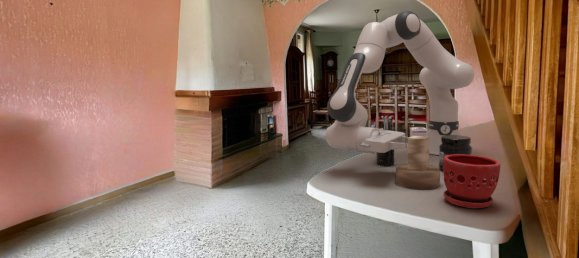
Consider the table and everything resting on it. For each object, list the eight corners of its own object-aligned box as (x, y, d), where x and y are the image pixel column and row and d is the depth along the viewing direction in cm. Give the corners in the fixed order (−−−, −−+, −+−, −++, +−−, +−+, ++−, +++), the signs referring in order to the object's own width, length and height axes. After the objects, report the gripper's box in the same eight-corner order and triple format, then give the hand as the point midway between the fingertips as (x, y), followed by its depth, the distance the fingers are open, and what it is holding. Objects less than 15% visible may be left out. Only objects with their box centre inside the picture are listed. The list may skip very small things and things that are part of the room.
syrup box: (427, 167, 126) (428, 129, 124) (410, 167, 127) (411, 129, 125) (424, 164, 131) (425, 127, 129) (408, 163, 132) (409, 127, 130)
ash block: (407, 169, 107) (408, 137, 105) (412, 165, 111) (413, 135, 109) (423, 171, 104) (424, 139, 102) (428, 167, 108) (429, 136, 106)
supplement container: (476, 170, 121) (478, 136, 119) (462, 175, 114) (464, 140, 113) (447, 164, 129) (448, 133, 127) (432, 170, 123) (433, 137, 121)
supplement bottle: (381, 161, 137) (382, 132, 135) (397, 164, 132) (398, 133, 131) (372, 164, 132) (372, 134, 131) (388, 167, 128) (389, 136, 126)
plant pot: (473, 215, 82) (476, 167, 80) (431, 199, 93) (432, 156, 92) (509, 206, 87) (512, 160, 85) (464, 191, 99) (466, 151, 97)
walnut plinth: (395, 177, 116) (396, 162, 115) (437, 179, 112) (437, 164, 111) (395, 188, 104) (396, 173, 103) (442, 191, 100) (442, 175, 99)
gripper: (356, 135, 107) (399, 138, 99) (380, 127, 123) (420, 129, 115) (356, 155, 108) (399, 159, 100) (380, 144, 124) (419, 148, 116)
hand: (410, 143), depth 107 cm, fingers open, 8 cm apart
